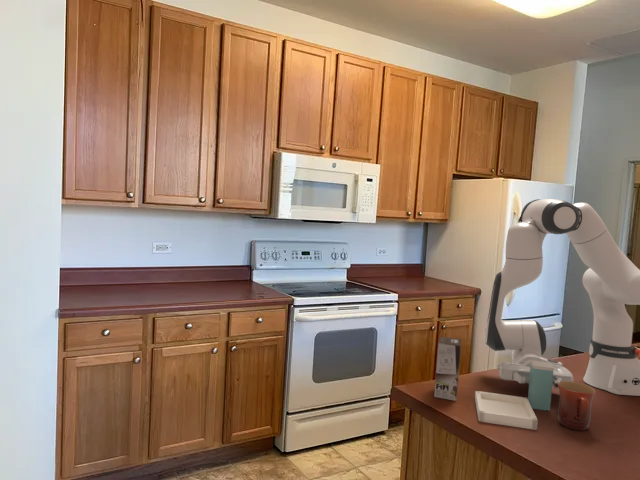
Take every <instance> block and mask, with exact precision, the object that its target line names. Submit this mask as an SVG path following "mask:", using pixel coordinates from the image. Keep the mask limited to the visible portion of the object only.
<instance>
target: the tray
mask: <svg viewBox="0 0 640 480" xmlns="http://www.w3.org/2000/svg"><path fill="white" fill-rule="evenodd" d="M474 392H475V394H474V403H475V410H476V414H477V420H478V422H480V423H487V424H494V425H501V426H508V427H514V428H521V429H525V430H526V429H528V430H532V431H533V430H535V431H537V430H538V422H539V420H538V418H537V415H536V414H535V412H534V410H533V409H532V407H531V405H530V403H529V401H528V397H525V396H524V397H523V396H517V395H509V394H502V393H494V392H488V391H481V390H475V391H474Z"/></svg>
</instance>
